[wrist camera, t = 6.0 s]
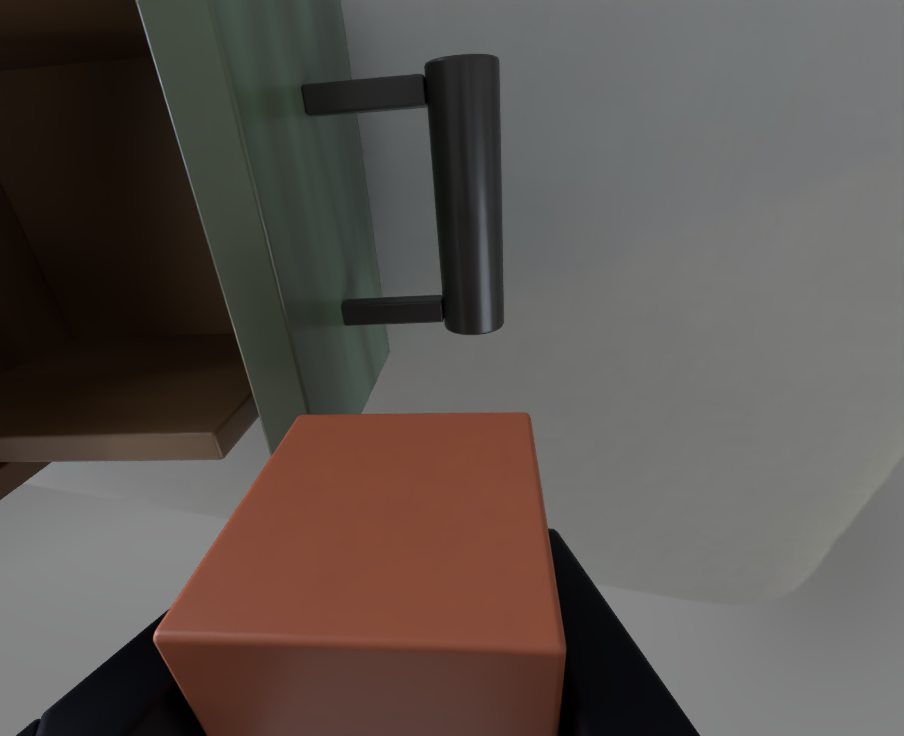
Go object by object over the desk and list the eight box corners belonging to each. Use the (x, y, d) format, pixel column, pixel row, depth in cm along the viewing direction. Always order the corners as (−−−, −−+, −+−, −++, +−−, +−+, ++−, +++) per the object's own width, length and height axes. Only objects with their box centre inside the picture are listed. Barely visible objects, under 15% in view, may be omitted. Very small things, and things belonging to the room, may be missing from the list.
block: (525, 574, 9) (549, 841, 6) (336, 571, 10) (250, 821, 6) (530, 410, 8) (569, 652, 4) (297, 412, 8) (145, 637, 4)
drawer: (493, -37, 12) (501, -264, 5) (501, 348, 17) (511, 488, 10) (-61, 24, 14) (-613, -91, 7) (93, 362, 19) (-136, 491, 12)
